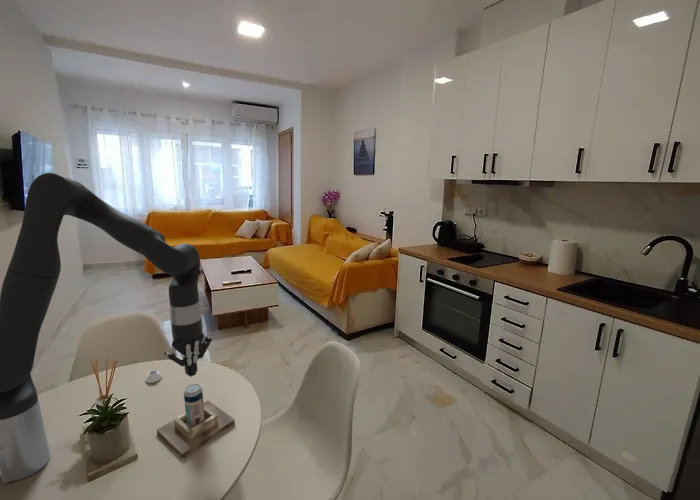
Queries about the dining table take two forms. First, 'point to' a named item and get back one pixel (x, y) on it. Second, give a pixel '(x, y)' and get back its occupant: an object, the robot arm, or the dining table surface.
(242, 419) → the dining table surface
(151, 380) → the white rounded piece
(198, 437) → the board
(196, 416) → the beer can
